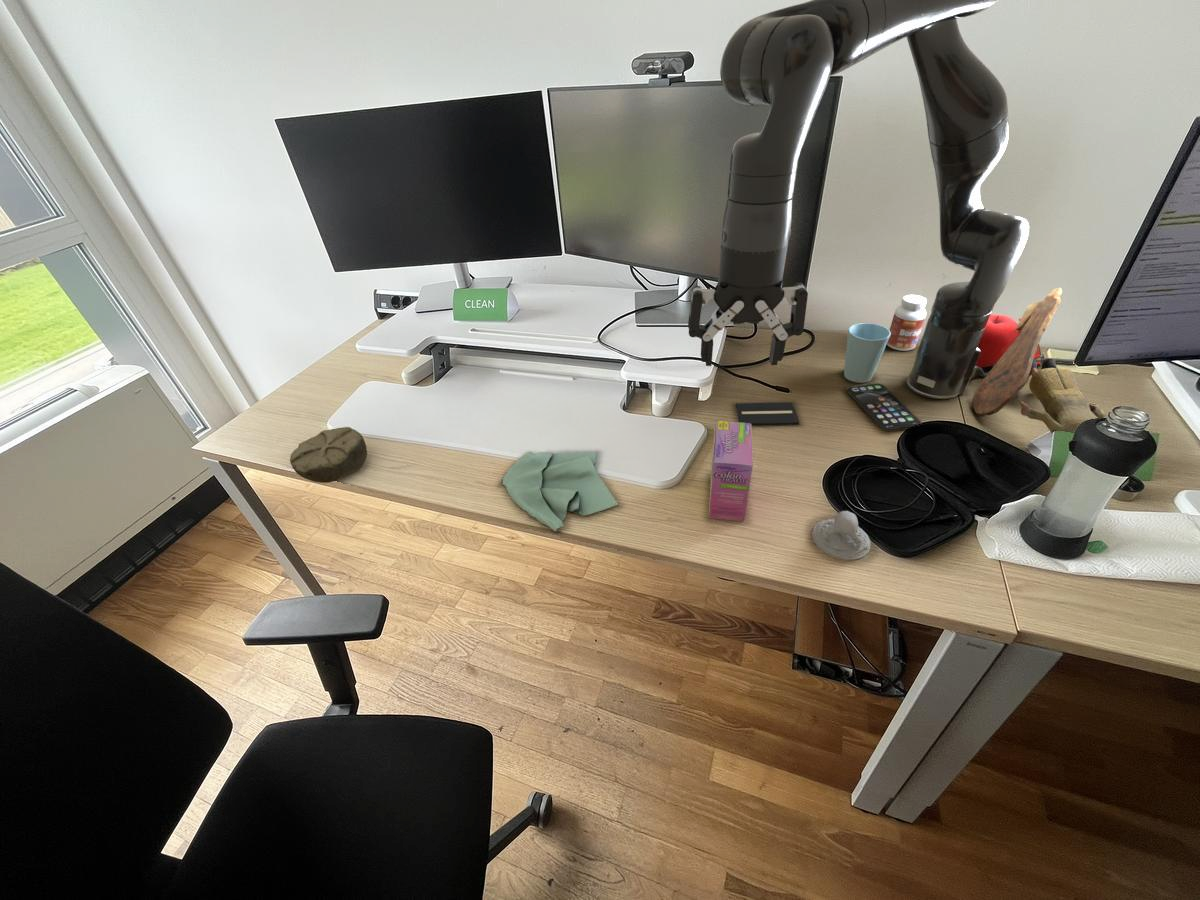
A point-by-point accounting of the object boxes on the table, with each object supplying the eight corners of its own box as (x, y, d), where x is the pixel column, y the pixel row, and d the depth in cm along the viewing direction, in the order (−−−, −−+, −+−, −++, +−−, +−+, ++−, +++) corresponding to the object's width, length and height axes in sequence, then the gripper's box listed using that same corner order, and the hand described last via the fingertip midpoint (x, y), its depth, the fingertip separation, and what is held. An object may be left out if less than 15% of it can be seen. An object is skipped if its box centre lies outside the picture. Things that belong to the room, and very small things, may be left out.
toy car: (1046, 366, 109) (1026, 371, 111) (1038, 346, 111) (1020, 351, 113) (1038, 332, 101) (1018, 338, 103) (1031, 312, 104) (1011, 318, 106)
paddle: (955, 410, 100) (1029, 296, 106) (970, 421, 100) (1042, 307, 106) (993, 401, 92) (1070, 277, 97) (1008, 413, 92) (1084, 289, 97)
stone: (373, 437, 99) (384, 459, 102) (339, 417, 106) (350, 438, 109) (307, 476, 91) (320, 498, 95) (276, 451, 99) (290, 473, 102)
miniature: (872, 527, 79) (880, 505, 76) (868, 566, 74) (877, 543, 71) (815, 514, 82) (821, 492, 79) (808, 550, 77) (814, 528, 74)
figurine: (993, 390, 104) (1050, 510, 84) (1012, 351, 97) (1078, 471, 77) (1061, 390, 101) (1136, 515, 81) (1084, 350, 94) (1172, 475, 74)
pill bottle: (894, 353, 118) (908, 306, 111) (880, 340, 123) (893, 294, 116) (921, 350, 118) (937, 302, 111) (906, 337, 123) (920, 291, 116)
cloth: (518, 448, 102) (516, 438, 100) (630, 454, 97) (629, 444, 96) (479, 526, 86) (476, 515, 85) (610, 537, 82) (609, 526, 80)
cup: (870, 389, 107) (882, 343, 101) (832, 379, 112) (842, 334, 105) (883, 373, 112) (896, 328, 105) (846, 364, 116) (857, 319, 109)
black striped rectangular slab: (791, 404, 106) (792, 401, 105) (799, 424, 100) (799, 422, 100) (735, 405, 107) (736, 402, 107) (740, 425, 102) (740, 423, 101)
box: (745, 522, 82) (753, 464, 75) (708, 519, 83) (712, 462, 76) (744, 478, 90) (751, 422, 83) (710, 475, 91) (714, 420, 84)
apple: (979, 348, 116) (998, 301, 109) (1017, 368, 109) (1040, 319, 102) (940, 357, 114) (958, 310, 108) (976, 378, 107) (997, 329, 100)
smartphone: (881, 382, 108) (923, 424, 96) (880, 385, 108) (922, 427, 96) (845, 387, 108) (884, 429, 96) (845, 389, 108) (883, 432, 96)
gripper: (811, 227, 63) (789, 349, 73) (691, 231, 65) (685, 350, 75) (826, 247, 57) (800, 376, 67) (694, 251, 59) (687, 377, 69)
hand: (740, 362), depth 71 cm, fingers open, 8 cm apart
